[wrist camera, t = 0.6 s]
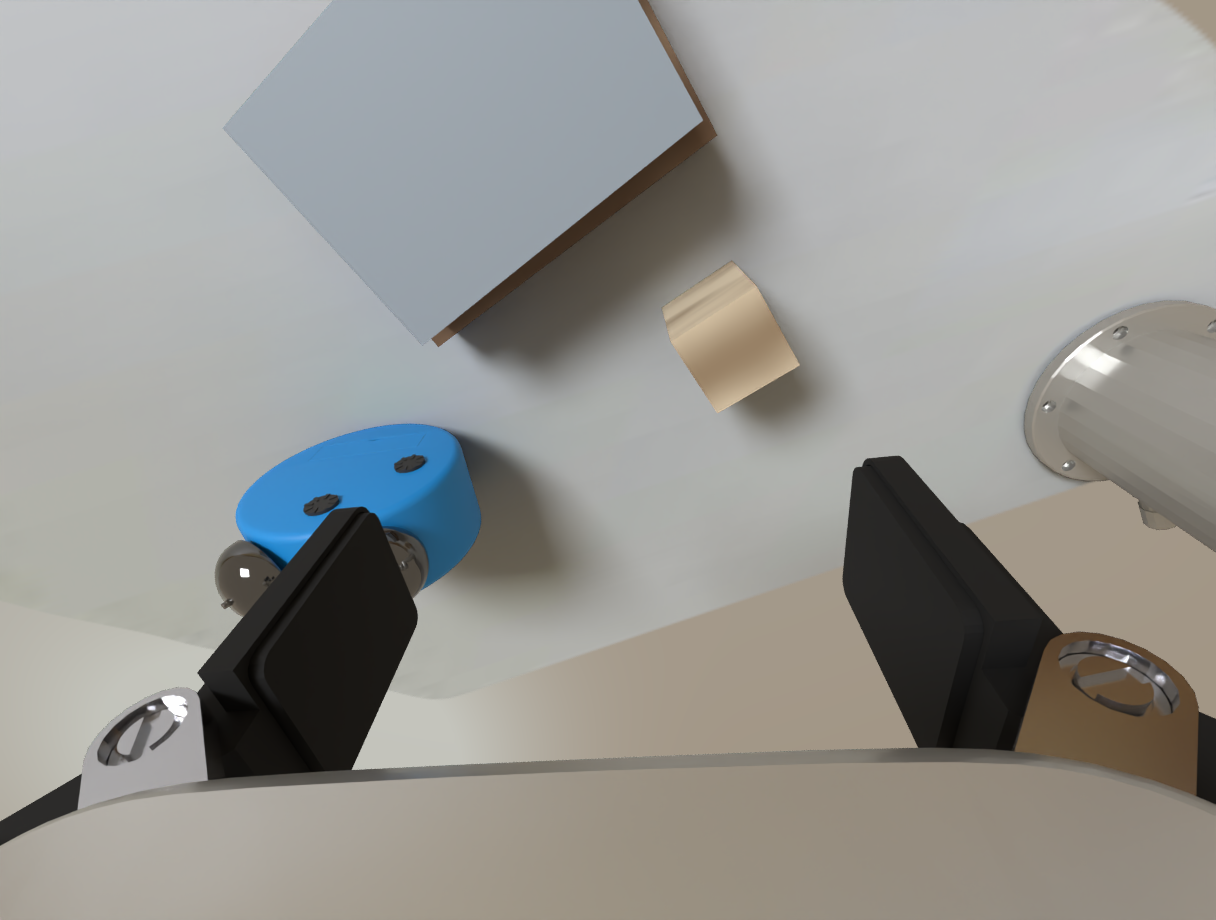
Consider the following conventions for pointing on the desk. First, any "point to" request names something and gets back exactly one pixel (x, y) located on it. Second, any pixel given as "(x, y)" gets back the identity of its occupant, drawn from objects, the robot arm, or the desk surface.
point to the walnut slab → (606, 207)
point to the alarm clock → (353, 477)
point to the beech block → (728, 337)
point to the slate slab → (460, 135)
